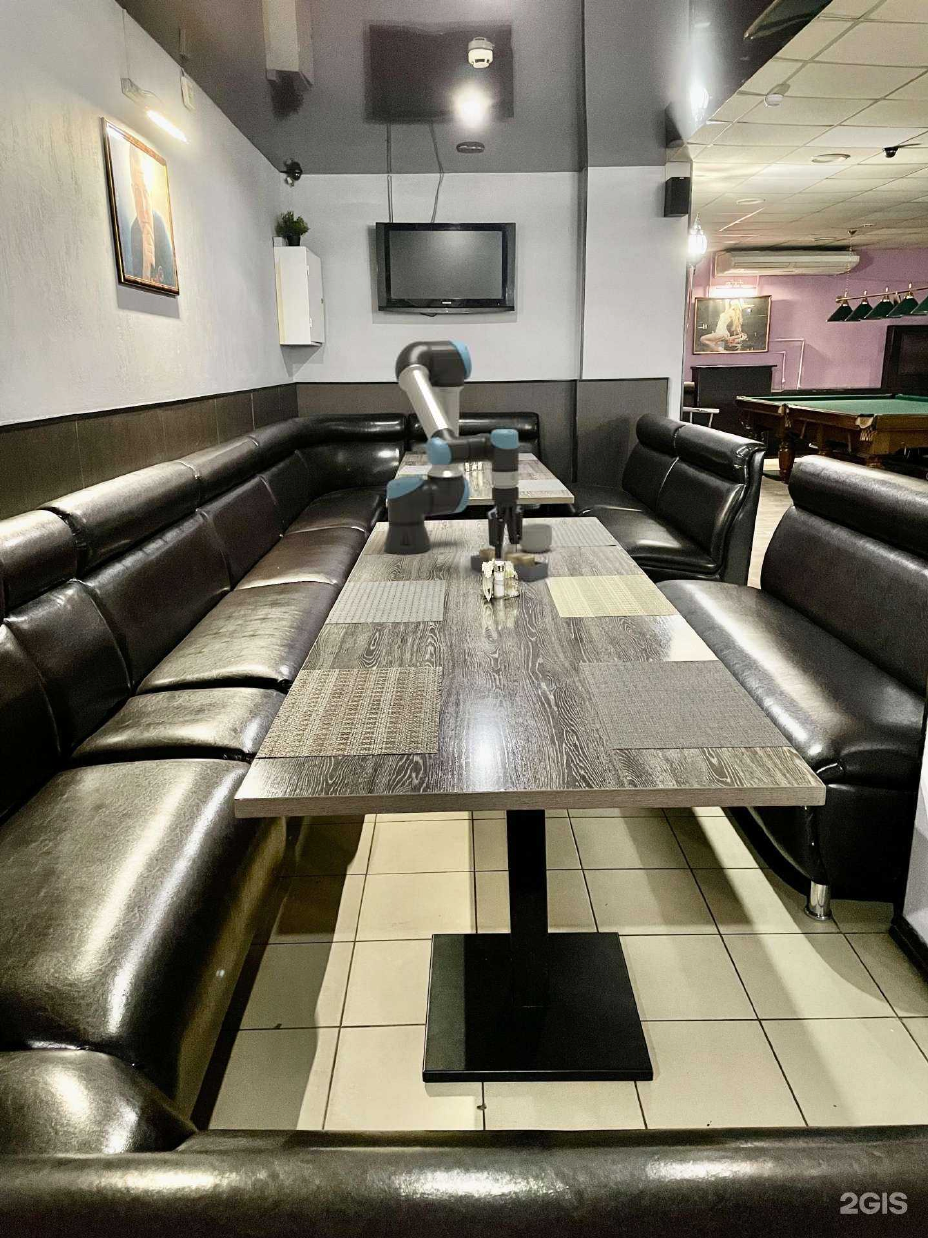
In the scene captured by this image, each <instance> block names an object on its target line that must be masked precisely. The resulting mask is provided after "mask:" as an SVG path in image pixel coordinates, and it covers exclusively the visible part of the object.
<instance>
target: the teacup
mask: <svg viewBox="0 0 928 1238" xmlns="http://www.w3.org/2000/svg"><path fill="white" fill-rule="evenodd" d="M552 529H553V525H552V524H550V523H544V522H543V523H542V522H541V523H540V522H537V523H530V522H528V523H526V524H523V527H522V540H521V541H519V542H520V544H519V546H520V548H522V549H523V550H524V552H526V553H533V554H534V553H543V552H545V551H547V550H548V549H549V547H551V545H552V543H553V542H552V541H553V531H552Z"/></svg>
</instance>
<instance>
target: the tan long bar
mask: <svg viewBox="0 0 928 1238" xmlns="http://www.w3.org/2000/svg"><path fill="white" fill-rule="evenodd" d="M478 554H479V557H482V558H487V559H488V562H489V561H492V559H493V558H494V559H495V560H496V558H495V548H490V547H487V548H484V549H479V550H478ZM505 561H511V563H513V564H514V565H515V564H518V565H523V566H529V567H531V566H534V565H535V561H536V556H534V555H528V554H523V553H519V552H517V553H513V552H508V551H507V550H505Z"/></svg>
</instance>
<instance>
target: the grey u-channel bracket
mask: <svg viewBox="0 0 928 1238" xmlns="http://www.w3.org/2000/svg"><path fill="white" fill-rule="evenodd" d="M483 562H488V559H487V558H482V557H479V553H478V554H475V555H471V556H470V571H476V572H481V573H483V572H482V564H483Z"/></svg>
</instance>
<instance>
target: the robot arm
mask: <svg viewBox="0 0 928 1238" xmlns="http://www.w3.org/2000/svg"><path fill="white" fill-rule="evenodd" d="M472 365H473V364H472V358H471V355H470V352H469V350H468V347H467V346H466V345H465V344H464V343H463V342H462V341H460V340H457V341H456V340H431V341H430V340H429V341H426V340H425V341H422V340H419V341H414V342H411V343H408V344H407V345H405V347H403V349H401V351H400V352H399V354H398V355H397V357H396V360H395V367H394V370H395V371H394V374H395V379H396V381H397V383H398V385H399V387H400V388H401V390H403V391H405V392H406V394H407V397H408V398H409V401H410V403H411V406H412V407H413V409H414V411H415V414H416V415H417V418H418V420H419V422H420V424H421V426H422V428H423V431H424V433H425V434H426V435H425V436H426V437H427V441H426V443H425V453H426V459H427V461H428V463H429V464H431V468H430V469H429V470H427V475H426V477H427V478H426V479H424V478H423V476H422V475H405V476H402V477H401V476H400V477H397V478H394V479H391V480H390V481H388V483H387V485H386V501H387V518H388V519H387V520H388V522H387V523H388V529H387V533H386V537H385V540H384V543H383V544H384V545H383V547H384V549H383V550H384V551H385V552H386V553H389V554H393V555H415V554H421V553H425V552H428V551H430V550H431V549H432V542H431V539H430V537H429V534H428V531H427V529H426V526H425V524H426V522H425V517H426V516H436V515H437V516H438V515H446V514H447V515H448V514H449V515H451V514H455V513H456V514H457V513H461V512H462V511H463V510H465V509H466V507H467V506H468V504H469V502H470V501H469V499H470V494H471V490H470V489H471V487H470V483H469V479H467V477H465V476H464V471H462V470H461V468H459V465H460V464H471V463H472V464H474V463H489V462H490V463H491V485H492V487H491V499H492V501H493V502H494V503H493V507H492V509H491V510H490V511H486V514H485V515H486V518H487V527H488V529H487V531H488V532H487V533H488V545H489V546H491V547H493V548H494V549H495V558H496V561H505V551H508V552H513V553H518V545H520V542H519V541H521V540H522V527H523V525H524V523H523V522H524V521H523V520H524V519H523V518H524V517H523V516H524V511H525V506H521V505H518V502H517V501H518V500H519V499H520V494H519V493H520V488H519V486H518V485H519V483H520V482H519V465H520V464H519V463H520V461H519V459H520V457H519V455H520V452H519V451H520V450H519V448H520V442H519V432H518V431H517V430H516V429H512V428H511V429H508V428H507V429H506V428H505V429H504V428H501V429H494V430H492V431H491V433H479V434H476V435H459V434H460V392H461V390H463V388H464V387H465V381H466V380H468V379H470V377H471V374H472V371H473V370H472V369H473V368H472ZM505 527H506V528H505ZM505 529H506V530H507V537H508V541H509V543H506V549H505V547H504V545H503V543H504V537H505Z"/></svg>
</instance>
